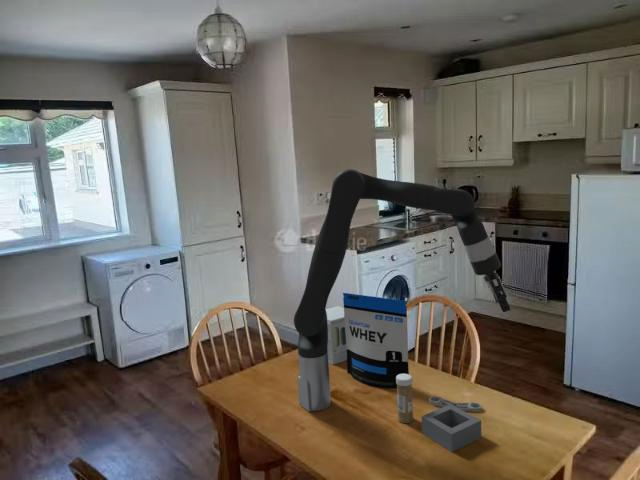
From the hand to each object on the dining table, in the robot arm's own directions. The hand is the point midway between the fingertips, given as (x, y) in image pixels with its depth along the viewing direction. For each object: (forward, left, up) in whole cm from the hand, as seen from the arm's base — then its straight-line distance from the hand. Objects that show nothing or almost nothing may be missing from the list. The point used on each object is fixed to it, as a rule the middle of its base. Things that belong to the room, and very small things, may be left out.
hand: (503, 306), depth 139 cm
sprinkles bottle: (-27, +12, -32) cm, 44 cm away
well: (-23, -1, -31) cm, 39 cm away
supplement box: (-17, +64, -32) cm, 74 cm away
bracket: (-11, +9, -32) cm, 35 cm away
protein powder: (-18, +37, -32) cm, 52 cm away
